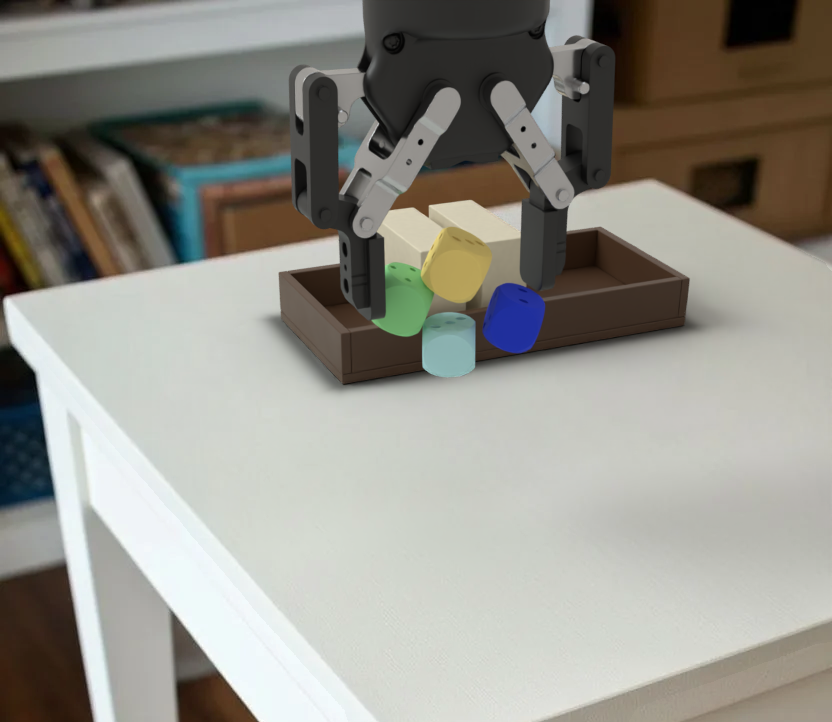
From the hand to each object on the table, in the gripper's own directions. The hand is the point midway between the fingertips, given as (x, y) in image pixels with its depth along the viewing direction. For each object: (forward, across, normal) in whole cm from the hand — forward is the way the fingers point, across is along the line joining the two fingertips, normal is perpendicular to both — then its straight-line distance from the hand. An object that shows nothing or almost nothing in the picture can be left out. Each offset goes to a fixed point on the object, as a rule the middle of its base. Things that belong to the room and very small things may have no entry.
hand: (454, 299), depth 62 cm
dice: (+3, 0, 0) cm, 3 cm away
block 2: (+10, -11, -21) cm, 26 cm away
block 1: (+10, -7, -21) cm, 24 cm away
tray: (+11, -12, -21) cm, 26 cm away
